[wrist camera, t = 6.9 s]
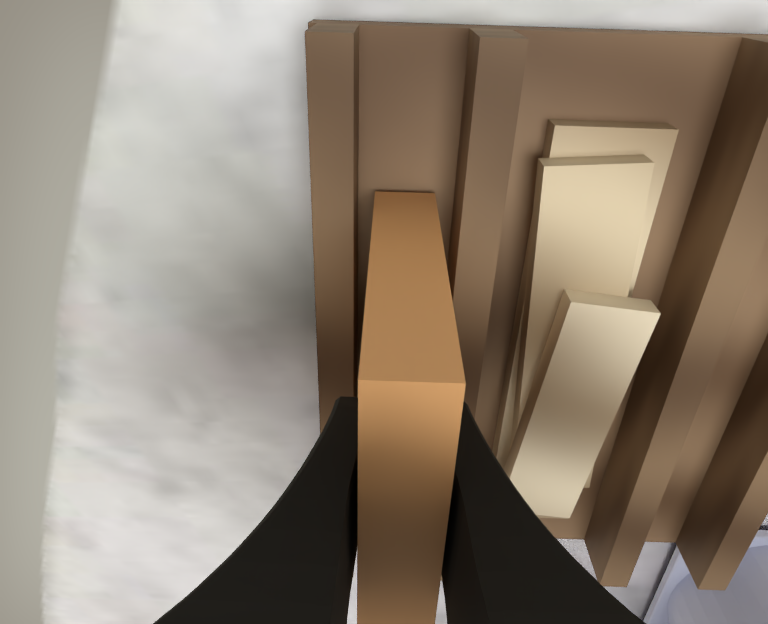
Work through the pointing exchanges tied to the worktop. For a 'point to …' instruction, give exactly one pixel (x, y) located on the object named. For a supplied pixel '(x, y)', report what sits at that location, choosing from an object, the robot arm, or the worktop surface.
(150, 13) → the worktop surface
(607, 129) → the offcut stack
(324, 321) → the rack
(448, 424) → the orange square slab
